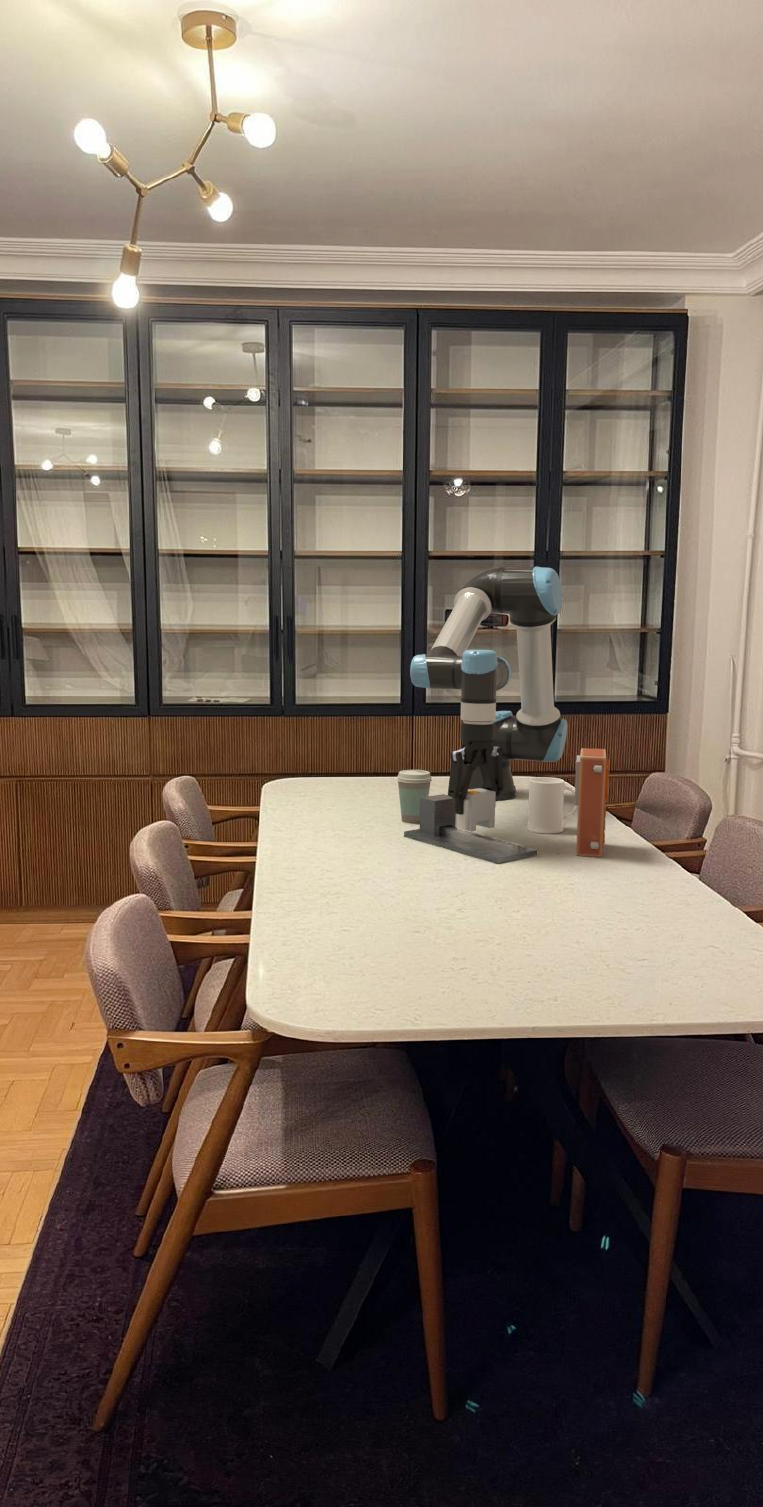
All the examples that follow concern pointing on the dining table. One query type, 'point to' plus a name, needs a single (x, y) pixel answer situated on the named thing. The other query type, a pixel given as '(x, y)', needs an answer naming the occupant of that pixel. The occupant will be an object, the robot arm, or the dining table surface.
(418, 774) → the coffee cup
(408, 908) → the dining table surface
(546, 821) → the mug
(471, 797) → the module
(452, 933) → the dining table surface
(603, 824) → the control panel
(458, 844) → the rail board
